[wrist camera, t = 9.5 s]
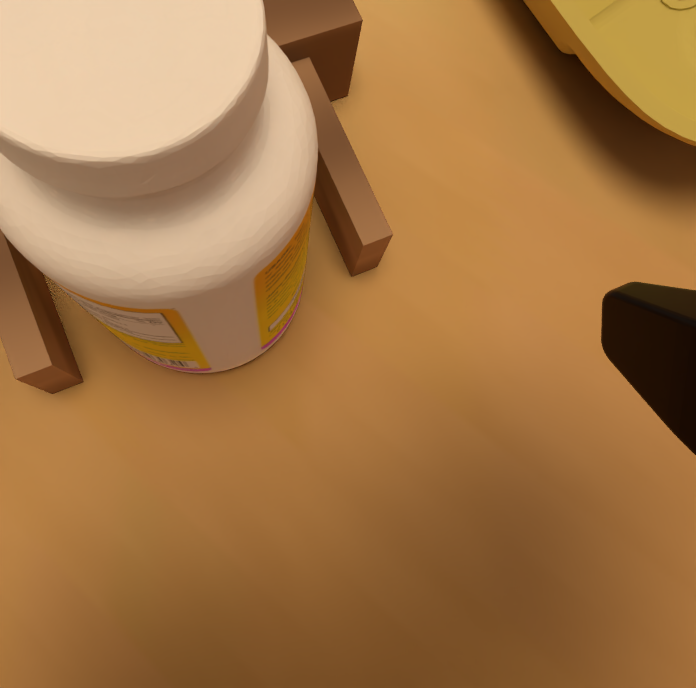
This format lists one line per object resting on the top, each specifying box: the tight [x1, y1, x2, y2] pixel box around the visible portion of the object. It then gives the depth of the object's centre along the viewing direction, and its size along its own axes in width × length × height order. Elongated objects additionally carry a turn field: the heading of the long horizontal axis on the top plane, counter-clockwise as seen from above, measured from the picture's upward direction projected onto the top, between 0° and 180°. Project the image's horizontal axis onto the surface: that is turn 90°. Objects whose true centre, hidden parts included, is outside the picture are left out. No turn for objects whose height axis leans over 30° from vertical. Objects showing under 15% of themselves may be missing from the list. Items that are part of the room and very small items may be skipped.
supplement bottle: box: [0, 0, 318, 373], centre depth 15 cm, size 7×7×13 cm
